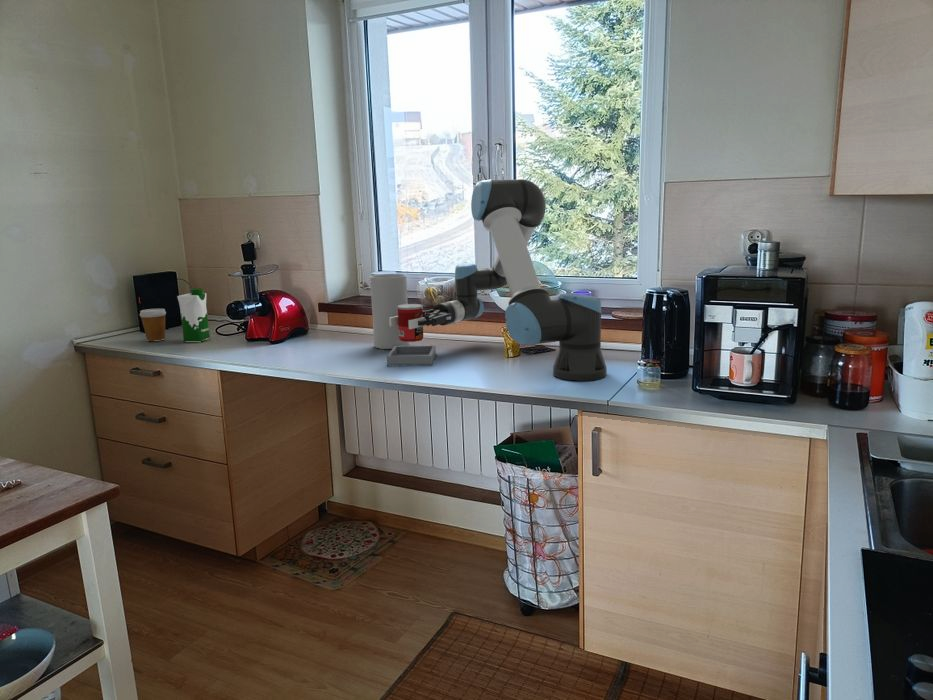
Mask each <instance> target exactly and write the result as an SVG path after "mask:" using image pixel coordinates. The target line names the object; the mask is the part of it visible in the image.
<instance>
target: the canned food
mask: <svg viewBox="0 0 933 700" xmlns="http://www.w3.org/2000/svg"><path fill="white" fill-rule="evenodd" d="M422 317H423V305H422V304H420V303H419V304H418V303H408V304H403V305H399V306H398V329H399V339H400V340H401V341H404V342H409V343H414V342H419V341H422V340H423V339H424V326H422V327H418V328H414V329H409V321H408V320H413V319H417V318H422Z"/></svg>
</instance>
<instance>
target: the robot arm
mask: <svg viewBox="0 0 933 700" xmlns="http://www.w3.org/2000/svg"><path fill="white" fill-rule="evenodd" d="M470 201H471V203H470V205H471V206H470V208H471V210H470V211H471V215H472V217H473V219H474V220H476V221H478V222H480V221H481V222H482V224H483V227H484V230H485V231H487V232H489V233H491V236H492V239H493V243H494V246H495V248H496V252H497V257H496V259H495V262H494V264H493V266H492V267H487V268H485V267H484V268H478V267H477V264H475V263H459V264H456V266H455V271H454V282H455V300H451V301H445V302H441V303H437V304H435V306H434V307H433V309H428V310H423V309H422V310H423V317H422V318H417V319H413V320H408V321H409V329H414V328H418V327H422V326H423V327H425V326H426V327H429V326H431V327H435V326H438V325H439V326H443V327H444V326H448V325H451V324H452V325H456V323H459V322H464V321H469V320H474V319H476V318H479V317H480V316H481V315H483V313H484V309H485V306H484V305H485V304H484V303H483V300H482V299H481V298H480V297H478V291H488V290H489V291H490V290H491V291H493V290H498V289H497V288H500V287H502V286H504V285H506V284H508V287H509V288H508V289H509V293H510V296H511V298H510V299H509V301H508V306H507V307H506V308H505V314H504V319H505V320H506V321H505V327H506V329H507V332H508V334H509V336H510V337H511V339H512V340H513V341H514V342H515V343H517V344H518V345H521V346H523V345H526V346H527V345H529V346H536V345H540V344H549V343H558V344H559V345H558V346H559V347H558V350H557V351H558V352H557V355H556V357H555V361H554V364H553V367H552V369H553V370H552V375H553V377H555V376H556V377H555V378H557V377H558V378H557V379H560V378H562V379H561V380H564V379H568V380H567V381H571V380H580V381H579V382H587V381H589V382H591V381H596V380H597V381H598V380H601V379H604V378H606V377H607V375H608V374H607V365H606V362H605V359H604V355H603V351H602V348H601V347H602V345H601V344H602V343H601V340H602V337H601V336H602V314H603V312H602V303H601V300H600V299H599V298H598V296H597V297H596V296H594V295H586V294H581V293H580V294H579V293H578V294H577V293H567V292H566V293H560V294H559V295H558V299H551V297H550V293H549V291H548V290H547V289H546V288H543V287H541V284H540V281H539V278H538V275H537V273H536V269H535V267H534V264H533V261H532V258H531V255H530V252H529V248H528V244H529V242H530V239H531V237H532V235H533V233H534V231H535V229H536V228H537V227H539V226H540V225H541V223H542V222H543V220H544V217H545V214H546V211H547V210H546V207H547V205H546V204H547V203H546V197H545V195H544V193H543V191H542V189H540V187H539V186H538V185H537V184H535V183H534V182H533V181H531V180H528V179H490V178H489V179H486V180H480V181H478V182H477V183H476V184H475V186H474V188H473V190H472V194H471V200H470ZM389 324H390V326H395V325H398V316H395V317H390V318H389Z"/></svg>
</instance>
